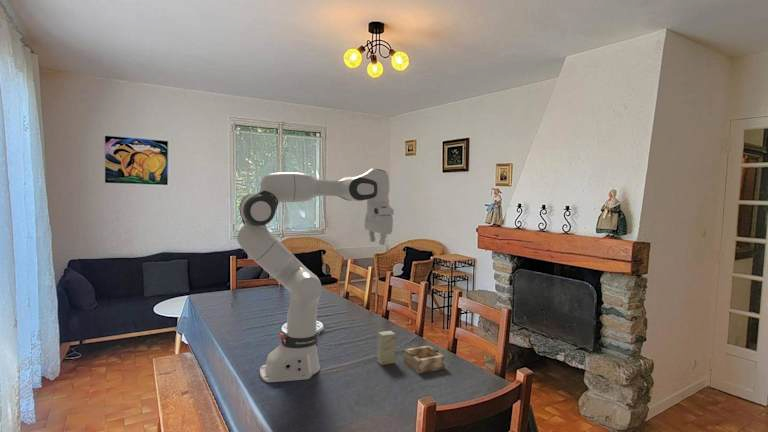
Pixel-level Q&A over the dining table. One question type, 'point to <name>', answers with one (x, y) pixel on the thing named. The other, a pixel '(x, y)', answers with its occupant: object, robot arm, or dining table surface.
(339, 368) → the dining table surface
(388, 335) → the skincare box
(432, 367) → the socket block
